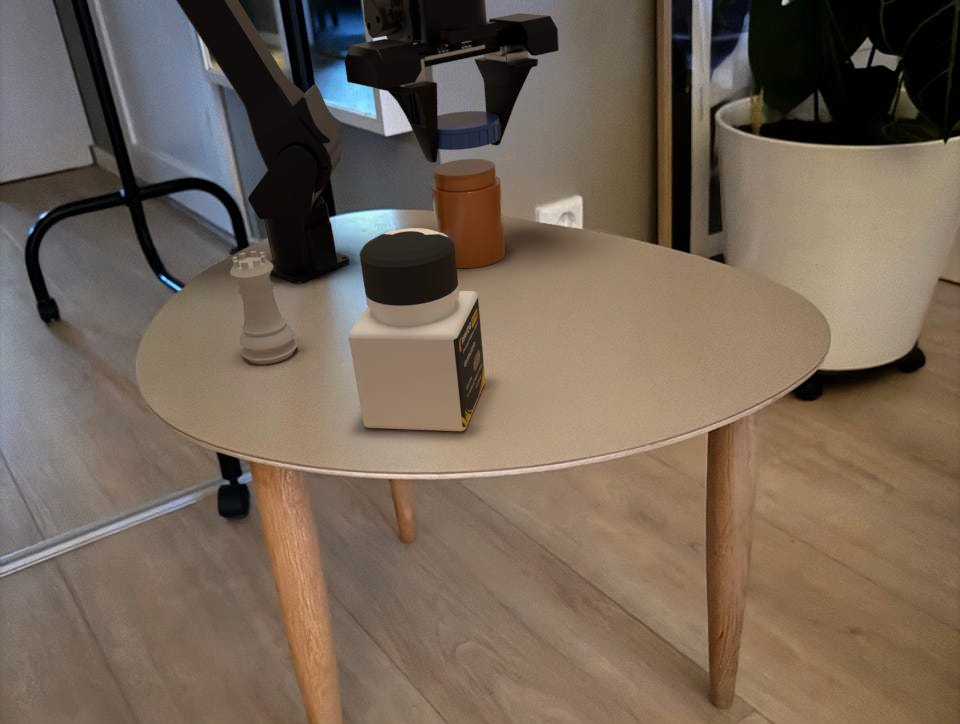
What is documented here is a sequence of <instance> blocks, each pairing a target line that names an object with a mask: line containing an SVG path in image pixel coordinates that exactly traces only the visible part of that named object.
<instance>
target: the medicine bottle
mask: <svg viewBox="0 0 960 724" xmlns="http://www.w3.org/2000/svg"><path fill="white" fill-rule="evenodd" d="M359 261H360V268H361V273H362V274H361V275H362V280H363V288H364V293H365V299H366V305H367V308H366V309H365V310H364V312H363V313H362V314H361V316H360V317H359V318H358V320H357V321H356V323H355V324H354V325H353V327H352V328H351V329H350V331H349V332H348V342H349V347H350V354H351V360H352V366H353V371H354V376H355V383H356V387H357V388H356V389H357V394H358V400H359V407H360V411H361V418H362V422H363V425H364V427H366V428H368V429H390V430H391V429H392V430H413V431H414V430H415V431H438V432H439V431H440V432H442V431H443V432H444V431H445V432H463V431H465V430H466V429H467V426H468V424H469V421H470V419H471V417H472V414H473V411H474V409H475V407H476V405H477V402H478V400H479V397H480V395H481V393H482V390H483V388H484V386H485V383H486V375H485V373H486V372H485V362H484V349H483V339H482V328H481V327H482V326H481V325H482V324H481V316H480V315H481V314H480V303H479V302H480V301H479V295H478V292H477V291H475V290H460V287H459V278H458V276H459V275H458V268H457V265H456V255H455V245H454V242H453V241H452V240H451V239H450V238H449V237H448V236H447V235H445V234H443V233H440V232H437V231H436V230H433V229H429V228H421V227H414V228H413V227H411V228H409V227H408V228H401V229H395V230H390V231H387V232H384V233H381V234H380V235H378V236H376V237H373V239H370V240H368V241H367V242H366V243H365V244H364V245H363V247H362V248H361V250H360V252H359Z"/></svg>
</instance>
